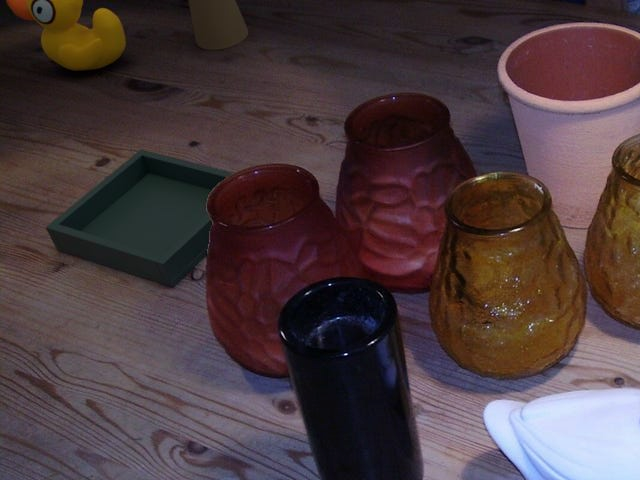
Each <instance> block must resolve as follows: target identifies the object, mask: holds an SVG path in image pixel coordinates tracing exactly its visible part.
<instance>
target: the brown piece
mask: <svg viewBox="0 0 640 480" xmlns="http://www.w3.org/2000/svg"><path fill="white" fill-rule="evenodd" d="M188 4H189V10H190V15H191V21H192V27H193V33H194V38H195V44H196V46H197V47H199V48H201V49H202V50H203V49H204V50H207V51H218V50H226V49H229V48H233V47H234V46H237V45H239V44H240V43H242V42H243V41H245V40H246V38H247V37H248V36H249V32H250V31H249V29H248V26H247V24H246V22H245V19H244V17H243V15H242V12H241V10H240V8H239V6H238V3H237V1H236V0H188Z"/></svg>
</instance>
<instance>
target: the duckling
mask: <svg viewBox="0 0 640 480" xmlns="http://www.w3.org/2000/svg"><path fill="white" fill-rule="evenodd" d="M5 1H6V4H7V7H8V8H9V9H10V10H11V11H12V13H13V14H14V15H16V16H17V17H18V18H21V19H22V20H26V21H36V23H38V24H39V25H40V26H41V27H42V28H43V30H42V32H41V37H40V44H41V48H42V49H43V52H44V53H45V55H46V56H47V57H48V58H49V59H51V60H52V61H53V62H54V63H56V64H58V65H60V66H61V67H63V68H65V69H67V70H70V71H74V72H81V71H91V70H98V69H103V68H105V67H107V66H109V65H111V64H112V63H114V62H116V61H117V60H118V59H119V58H120V57H121V56H122V54H123V52H124V51H125V48H126V45H127V43H126V42H127V39H126V34H125V30H124V27H123V24H122V22H121V20H120V18H119V17H118V15H116V14H115V13H114V12H113V11H112V10H109V9H108V8H104V7H100V8H98V9H96V10H95V11H94V13H93V16H92V28H89V27H87V26H85V25H82V24H80V23H78V21H79V19H80V17H81V14H82V7H83V4H84V0H5Z"/></svg>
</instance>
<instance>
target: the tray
mask: <svg viewBox="0 0 640 480" xmlns="http://www.w3.org/2000/svg"><path fill="white" fill-rule="evenodd" d="M233 173H234V172H232V171H228V170H224V169H219V168H216V167H212V166H209V165H204V164H200V163H196V162H192V161H189V160H185V159H180V158H177V157H173V156H169V155H165V154H162V153H157V152H153V151H149V150H146V149H142V148H141V149H140V150H138V151H137V152H136V153H134V154H133V155H132V156H131V157H130V158H128V159H127V160H126V161H125V162H124V163H122V164H121V165H120V166H118V167H117V168H116V169H115V170H113V171H112V172H111V173H110V174H108V175H107V176H106V177H105V178H104V179H102V180H101V182H99V183H98V184H97V185H95V186H94V187H92V188H91V189H90V190H89V191H88V192H86V193H85V194H84V195H83V196H81V198H79V199H78V200H77V201H75V203H73V204H71V206H70V207H68V208H67V209H66V210H65V211H63V212H62V213H61V214H59V216H57V217H56V218H55V219H54V220H52V221H51V222H50V223H48V224H47V225H46V226H45V229H46V231H47V233H48V236H49V237H50V239H51V241H52V243H53V245H54V246H55V247H54V248H55V249H56V250H57V251H59V252H61V253H65V254H68V255H72V256H74V257H78V258H80V259H84V260H87V261H89V262H93V263H97V264H99V265H103V266H105V267H109V268H112V269H115V270H117V271H120V272H124V273H126V274H130V275H134V276H136V277H140V278H143V279H146V280H149V281H153V282H156V283H158V284H161V285H164V286H168V287H171V288H174V287H175V286H176V285H177V284H178V283H180V281H181V280H182V279H184V277H185V276H186V275H188V273H189V272H191V271H192V270H193V268H195V267H196V266H197V265H198V264H199V263H200V262H201V261H202V260H203V259H204V258H205V257H206V256H207V255H208V254H207V249H208V244H209V231H210V228H211V226H212V221H211V219H210V217H209V215H208V213H207V211H206V202H207V198H208V195H209V194H210V192H211V191H212V189H213V188H214V187H215V186H216V185H217V184H218V183H219V182H221V181H222V180H224V179H225V178H226V177H228V176H229V175H231V174H233ZM206 254H207V255H206Z"/></svg>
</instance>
